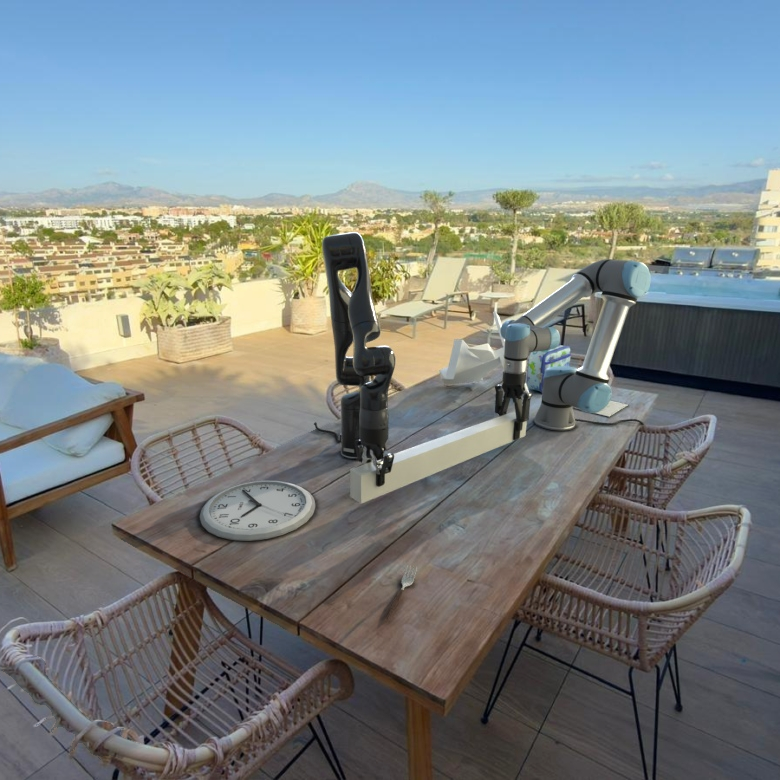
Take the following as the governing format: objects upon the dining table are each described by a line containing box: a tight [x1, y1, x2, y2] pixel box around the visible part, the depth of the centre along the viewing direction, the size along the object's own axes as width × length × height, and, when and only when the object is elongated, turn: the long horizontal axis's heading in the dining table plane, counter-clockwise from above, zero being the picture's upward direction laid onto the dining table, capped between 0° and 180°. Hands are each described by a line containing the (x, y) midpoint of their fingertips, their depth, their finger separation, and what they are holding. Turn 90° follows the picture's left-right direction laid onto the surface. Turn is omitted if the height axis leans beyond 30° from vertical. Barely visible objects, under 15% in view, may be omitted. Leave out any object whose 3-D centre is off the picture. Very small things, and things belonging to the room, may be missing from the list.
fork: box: [386, 563, 418, 620], centre depth 108 cm, size 3×16×2 cm, turn 160°
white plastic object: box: [438, 310, 530, 393], centre depth 245 cm, size 37×45×31 cm
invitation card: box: [573, 400, 629, 418], centre depth 226 cm, size 21×1×15 cm
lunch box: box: [526, 344, 572, 394], centre depth 248 cm, size 26×11×21 cm, turn 135°
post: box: [349, 410, 528, 504], centre depth 159 cm, size 72×5×8 cm, turn 131°
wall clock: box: [199, 480, 316, 542], centre depth 140 cm, size 30×2×30 cm
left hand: (373, 481), depth 140 cm, fingers closed on post, 4 cm apart
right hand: (509, 436), depth 179 cm, fingers closed on post, 5 cm apart
